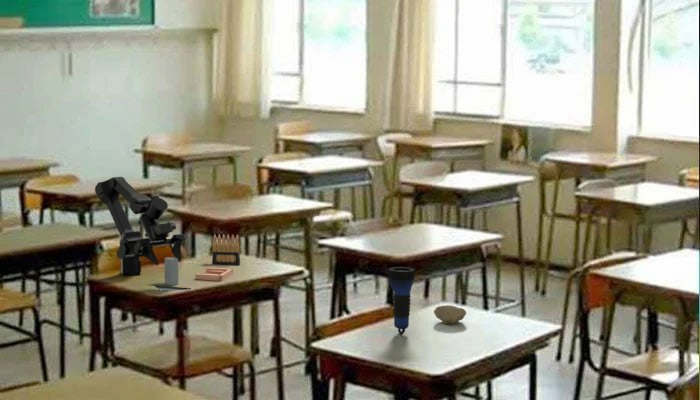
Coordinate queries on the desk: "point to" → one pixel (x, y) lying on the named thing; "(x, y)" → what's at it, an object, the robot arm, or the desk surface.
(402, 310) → the flashlight
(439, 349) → the desk surface
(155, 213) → the robot arm
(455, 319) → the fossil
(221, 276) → the slotted box
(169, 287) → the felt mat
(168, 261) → the grey rectangular block
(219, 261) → the ammunition clip
